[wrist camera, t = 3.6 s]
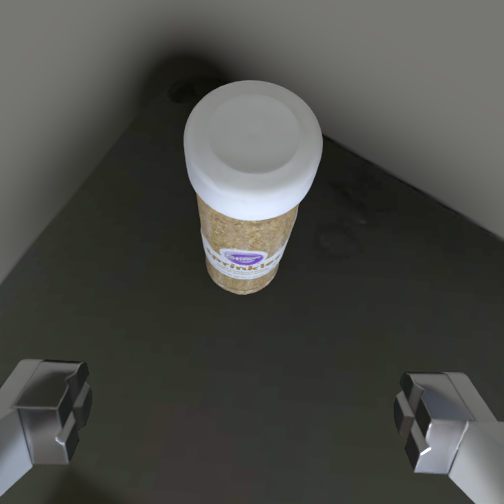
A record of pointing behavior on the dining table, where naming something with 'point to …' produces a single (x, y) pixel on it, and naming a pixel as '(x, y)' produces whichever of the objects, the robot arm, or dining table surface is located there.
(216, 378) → the dining table surface
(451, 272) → the dining table surface
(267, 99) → the sprinkles bottle
